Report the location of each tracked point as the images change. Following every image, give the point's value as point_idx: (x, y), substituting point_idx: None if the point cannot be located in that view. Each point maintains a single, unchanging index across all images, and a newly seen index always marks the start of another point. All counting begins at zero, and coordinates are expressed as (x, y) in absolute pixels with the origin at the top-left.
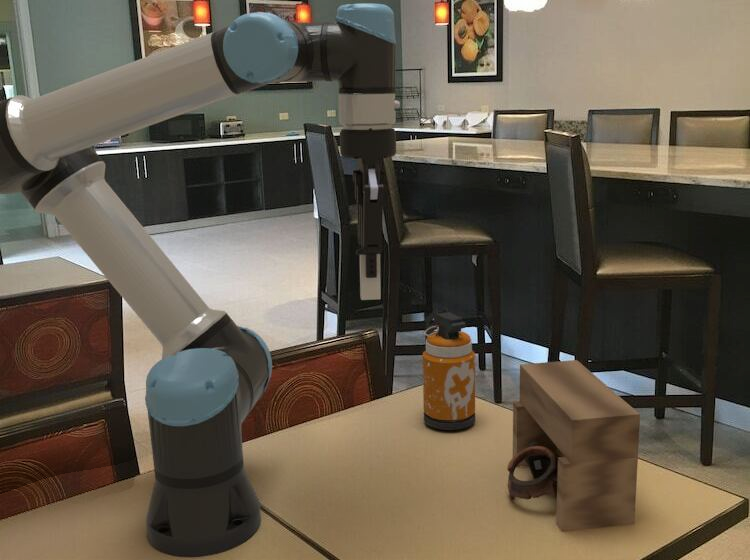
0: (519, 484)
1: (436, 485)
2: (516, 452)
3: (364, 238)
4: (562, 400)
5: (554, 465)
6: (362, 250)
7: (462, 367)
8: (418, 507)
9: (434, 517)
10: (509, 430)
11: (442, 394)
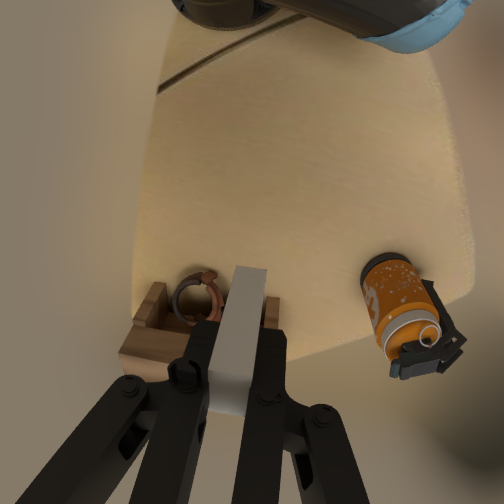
0: (182, 283)
1: (255, 218)
2: (266, 306)
3: (86, 416)
4: (162, 367)
5: (178, 317)
6: (169, 383)
7: (374, 330)
8: (216, 189)
9: (195, 198)
10: (342, 318)
11: (376, 289)
